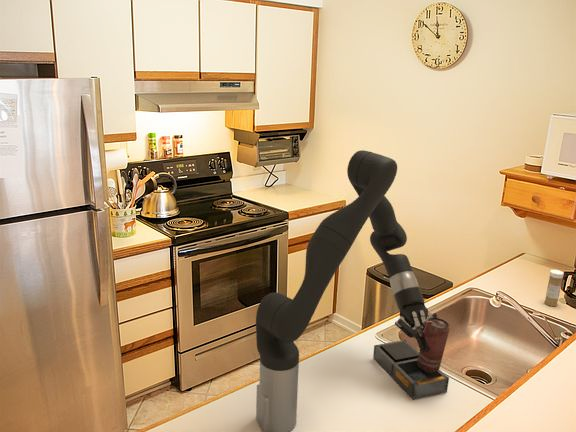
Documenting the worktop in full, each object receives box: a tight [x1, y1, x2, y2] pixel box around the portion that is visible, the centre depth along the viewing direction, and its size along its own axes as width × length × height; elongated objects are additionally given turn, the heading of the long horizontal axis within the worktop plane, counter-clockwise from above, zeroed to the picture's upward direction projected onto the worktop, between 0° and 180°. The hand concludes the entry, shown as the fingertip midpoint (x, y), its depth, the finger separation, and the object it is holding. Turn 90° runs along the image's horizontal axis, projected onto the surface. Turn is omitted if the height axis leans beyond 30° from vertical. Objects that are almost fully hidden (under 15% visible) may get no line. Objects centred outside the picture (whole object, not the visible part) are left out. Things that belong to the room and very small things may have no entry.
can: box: [417, 317, 450, 373], centre depth 138 cm, size 6×6×14 cm
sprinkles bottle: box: [544, 269, 564, 307], centre depth 193 cm, size 5×5×13 cm
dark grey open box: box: [372, 339, 450, 401], centre depth 145 cm, size 11×21×5 cm, turn 21°
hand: (427, 351), depth 136 cm, fingers closed
